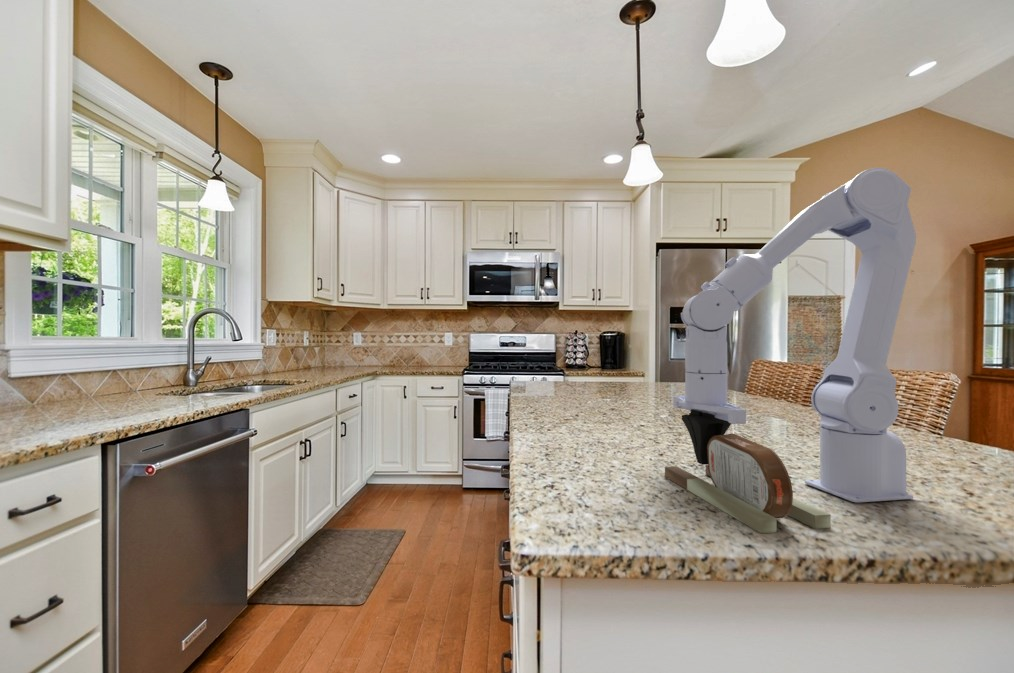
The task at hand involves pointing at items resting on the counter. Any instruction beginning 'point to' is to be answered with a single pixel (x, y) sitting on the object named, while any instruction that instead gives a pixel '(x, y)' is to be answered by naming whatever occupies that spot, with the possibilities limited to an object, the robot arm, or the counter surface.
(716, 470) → the tin
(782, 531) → the counter surface
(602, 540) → the counter surface
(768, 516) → the rail
